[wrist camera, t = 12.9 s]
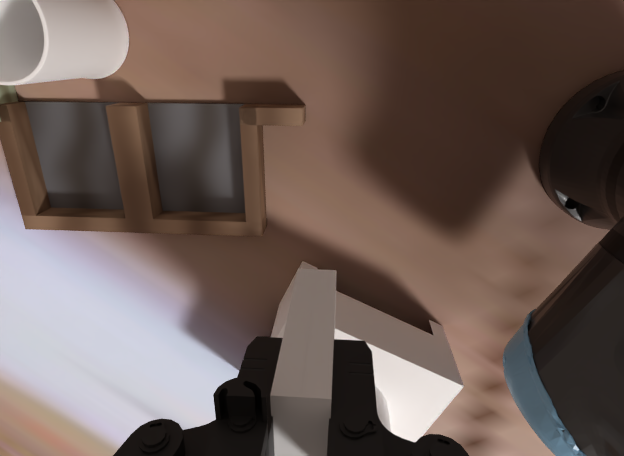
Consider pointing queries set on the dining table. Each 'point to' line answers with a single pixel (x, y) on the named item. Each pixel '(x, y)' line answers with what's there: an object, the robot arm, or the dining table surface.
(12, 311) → the dining table surface
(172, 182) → the wooden compartment tray
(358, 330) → the white block stand
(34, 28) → the mug
